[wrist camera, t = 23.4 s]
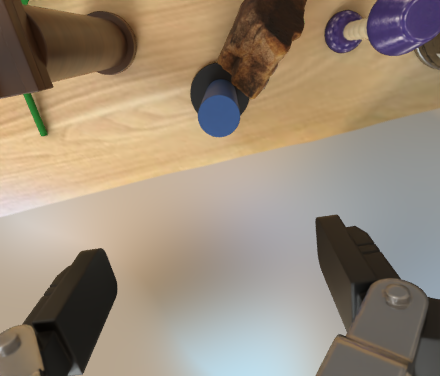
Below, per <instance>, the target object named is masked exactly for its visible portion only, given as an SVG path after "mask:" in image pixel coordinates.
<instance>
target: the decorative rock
mask: <svg viewBox="0 0 440 376" xmlns="http://www.w3.org/2000/svg"><path fill="white" fill-rule="evenodd" d="M306 1H307V0H244V2H243V3H242V5H241V7H240V9H239V12H238V15H237V17H236V19H235V22H234V24H233V27H232V28H231V30H230V33H229V35H228V37H227V40H226V42H225V44H224V47H223V49H222V51H221V53H220V55H219V58H218V61H217V63H218V64H220V65H222V67H223V69H224V70H226V71H227V72H229V73H230V74H231V75H232V77H231V81H232V84H233V85H235V86H236V87H237V88H238V89H239V90H241V91H242V92H243V93H244V94H245V95H246V96H247V97H249V98H250V99H255V98H256V97H257V95H258V94H259V93H260V92H261V91H262V90H263V89H265V86H266V85H267V83H268V81H269V77H270V76H271V75H272V74H273V73H274V72H275V70H276V68H277V66H278V63H279V61H280V60H281V59H282V58H283V57H284V56H285V54H286V53H287V52H288V51H289V49H290V46H291V43H292V41H294V40H296V39H298V38H299V37H300V36H301V33H302V31H303V28H304V18H303V17H304V7H305V4H306Z"/></svg>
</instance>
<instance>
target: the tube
mask: <svg viewBox="0 0 440 376" xmlns="http://www.w3.org/2000/svg"><path fill="white" fill-rule="evenodd" d="M198 121H199V124H200V126H201V128H202V129H203V130H204V131H205V132H206V133H207V134H209V135H211V136H214V137H224V136H227V135H229V134H231V133H232V132H233V131H234V130H235V129H236V128H237V126H238V124H239V121H240V111H239V105H238V100H237V95H236V90H235V88H234V86H233V85H232V84H231V83H230V82H229V81H227V80H223V79H219V80H215V81H213V82H212V83H211V84H210V85H209V86H208V88H207V90H206V93H205V95H204V98H203V100H202V103H201V105H200V108H199V111H198Z"/></svg>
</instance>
